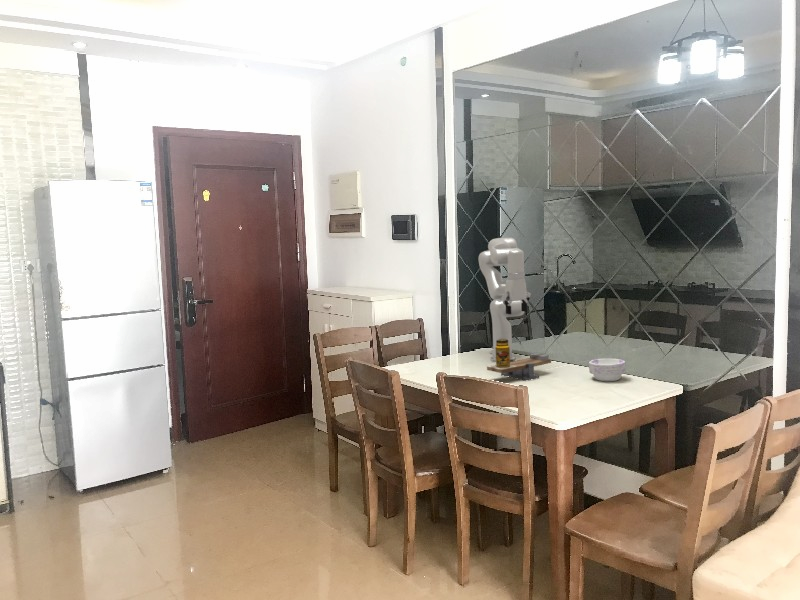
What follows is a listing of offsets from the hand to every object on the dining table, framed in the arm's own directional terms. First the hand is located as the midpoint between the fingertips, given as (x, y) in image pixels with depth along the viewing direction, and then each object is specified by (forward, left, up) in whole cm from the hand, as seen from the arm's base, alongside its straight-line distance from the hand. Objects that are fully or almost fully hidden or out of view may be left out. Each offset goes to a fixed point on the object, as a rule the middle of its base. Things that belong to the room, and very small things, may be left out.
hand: (516, 312), depth 306 cm
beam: (+10, -9, -22) cm, 26 cm away
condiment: (+10, -19, -21) cm, 31 cm away
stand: (+10, -9, -28) cm, 31 cm away
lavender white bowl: (+40, +14, -28) cm, 51 cm away
